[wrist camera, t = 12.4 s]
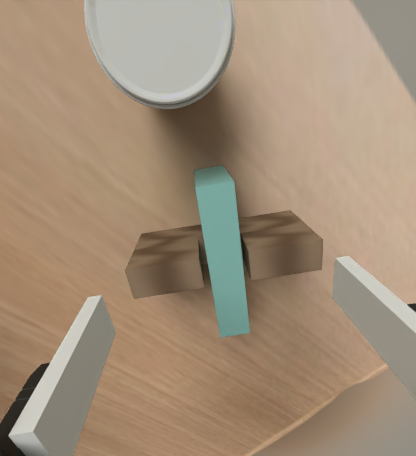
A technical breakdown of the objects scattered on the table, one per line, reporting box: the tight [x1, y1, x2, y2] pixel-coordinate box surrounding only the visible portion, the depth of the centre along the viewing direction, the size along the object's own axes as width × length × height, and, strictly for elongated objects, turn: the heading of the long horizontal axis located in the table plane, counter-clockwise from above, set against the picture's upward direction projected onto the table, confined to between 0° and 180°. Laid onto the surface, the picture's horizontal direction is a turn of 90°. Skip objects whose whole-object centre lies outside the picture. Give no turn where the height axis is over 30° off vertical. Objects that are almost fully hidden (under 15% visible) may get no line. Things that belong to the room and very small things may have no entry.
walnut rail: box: [125, 210, 323, 299], centre depth 30 cm, size 20×4×9 cm, turn 98°
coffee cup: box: [84, 0, 235, 109], centre depth 21 cm, size 9×9×12 cm
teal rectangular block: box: [194, 165, 250, 338], centre depth 30 cm, size 4×18×9 cm, turn 8°
